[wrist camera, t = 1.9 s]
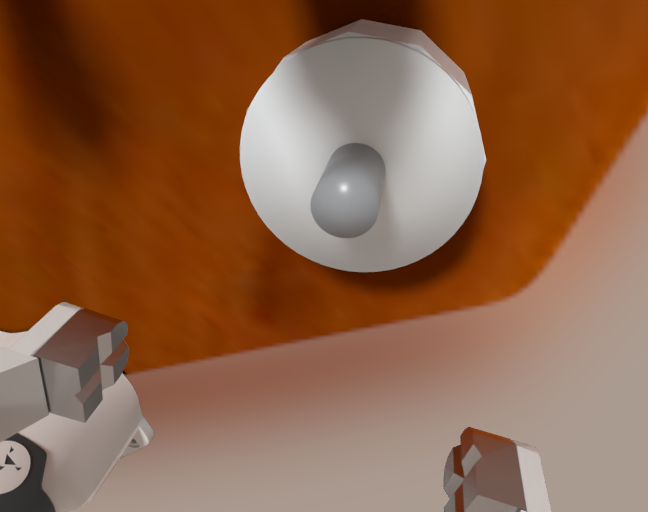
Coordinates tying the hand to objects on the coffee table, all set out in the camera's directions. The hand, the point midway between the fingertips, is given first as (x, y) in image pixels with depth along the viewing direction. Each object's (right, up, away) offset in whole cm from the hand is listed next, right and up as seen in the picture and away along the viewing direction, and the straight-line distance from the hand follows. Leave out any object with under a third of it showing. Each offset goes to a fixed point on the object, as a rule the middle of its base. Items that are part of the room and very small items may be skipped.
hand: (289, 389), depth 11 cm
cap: (+3, +10, +16) cm, 20 cm away
